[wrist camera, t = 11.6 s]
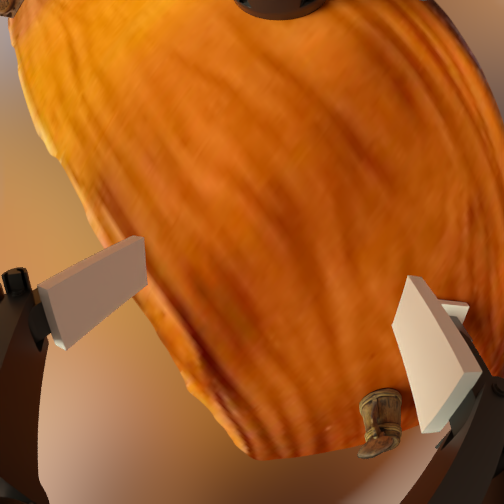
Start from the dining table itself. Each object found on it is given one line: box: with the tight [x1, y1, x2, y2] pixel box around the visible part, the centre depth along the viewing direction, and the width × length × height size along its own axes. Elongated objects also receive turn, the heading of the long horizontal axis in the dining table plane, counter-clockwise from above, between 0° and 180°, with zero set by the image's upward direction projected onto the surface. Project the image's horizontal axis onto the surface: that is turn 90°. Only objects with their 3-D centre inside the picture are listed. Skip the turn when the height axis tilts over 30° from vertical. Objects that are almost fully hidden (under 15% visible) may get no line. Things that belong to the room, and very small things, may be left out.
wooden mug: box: [358, 388, 402, 459], centre depth 37 cm, size 9×14×18 cm, turn 35°
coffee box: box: [0, 0, 24, 18], centre depth 25 cm, size 9×6×16 cm
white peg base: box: [438, 299, 469, 324], centre depth 35 cm, size 10×10×6 cm
